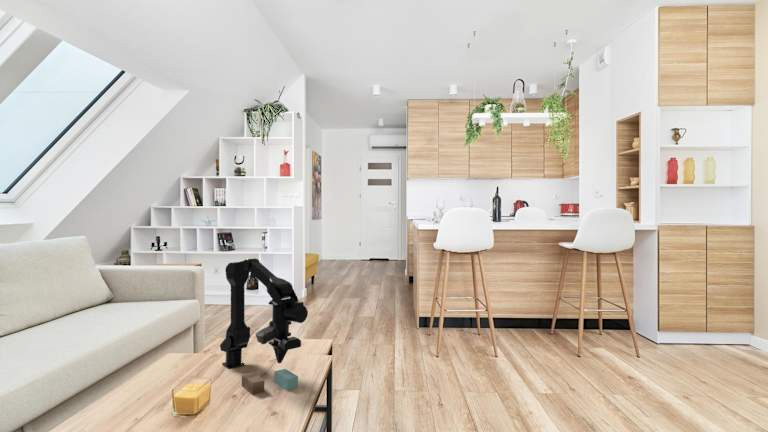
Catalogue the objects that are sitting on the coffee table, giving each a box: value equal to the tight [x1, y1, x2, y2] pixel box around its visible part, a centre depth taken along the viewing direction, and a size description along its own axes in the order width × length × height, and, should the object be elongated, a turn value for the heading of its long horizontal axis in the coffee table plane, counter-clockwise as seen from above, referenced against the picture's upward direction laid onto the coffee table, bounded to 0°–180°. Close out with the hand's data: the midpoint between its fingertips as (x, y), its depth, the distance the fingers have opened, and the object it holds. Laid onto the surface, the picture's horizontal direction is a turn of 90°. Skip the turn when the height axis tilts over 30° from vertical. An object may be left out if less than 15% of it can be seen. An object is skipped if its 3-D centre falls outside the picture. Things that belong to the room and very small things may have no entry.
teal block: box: [273, 368, 299, 392], centre depth 138 cm, size 4×4×9 cm
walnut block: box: [241, 371, 265, 396], centre depth 134 cm, size 4×4×9 cm
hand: (279, 362), depth 142 cm, fingers closed
